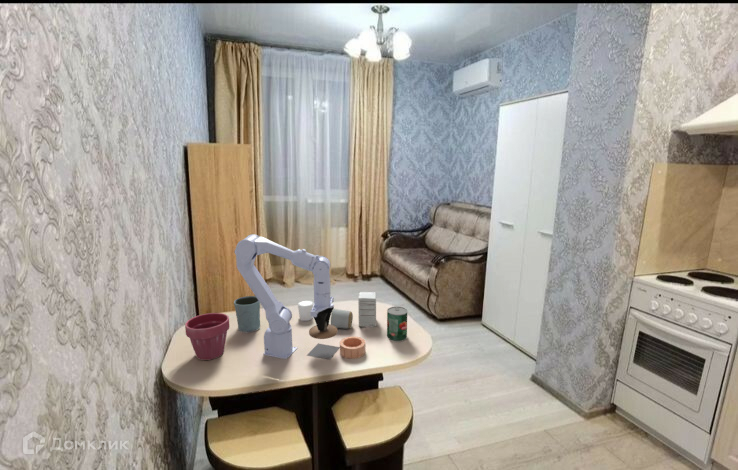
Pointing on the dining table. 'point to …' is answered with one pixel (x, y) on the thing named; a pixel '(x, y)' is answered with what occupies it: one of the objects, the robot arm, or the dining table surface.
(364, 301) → the supplement box
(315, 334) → the walnut lid
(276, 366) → the dining table surface
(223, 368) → the dining table surface
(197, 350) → the plant pot
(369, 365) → the dining table surface
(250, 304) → the teal cup
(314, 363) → the dining table surface
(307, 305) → the shot glass
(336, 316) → the ceramic mug
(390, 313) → the canned tomato
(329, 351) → the charcoal mat
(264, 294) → the robot arm
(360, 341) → the terracotta bowl
